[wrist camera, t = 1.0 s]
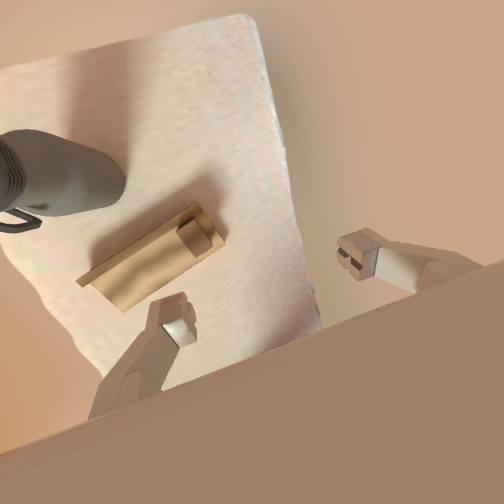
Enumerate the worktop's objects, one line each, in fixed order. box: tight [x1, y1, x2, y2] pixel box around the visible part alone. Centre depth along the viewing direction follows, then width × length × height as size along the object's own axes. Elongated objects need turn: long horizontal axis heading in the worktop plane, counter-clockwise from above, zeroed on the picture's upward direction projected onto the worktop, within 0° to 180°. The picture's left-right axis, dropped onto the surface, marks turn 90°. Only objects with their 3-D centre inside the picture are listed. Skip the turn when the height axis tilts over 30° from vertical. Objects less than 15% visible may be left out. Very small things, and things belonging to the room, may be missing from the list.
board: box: [76, 202, 226, 313], centre depth 42 cm, size 11×26×4 cm, turn 121°
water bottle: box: [0, 129, 125, 233], centre depth 25 cm, size 10×10×28 cm
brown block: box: [175, 217, 213, 258], centre depth 41 cm, size 7×4×5 cm, turn 31°
